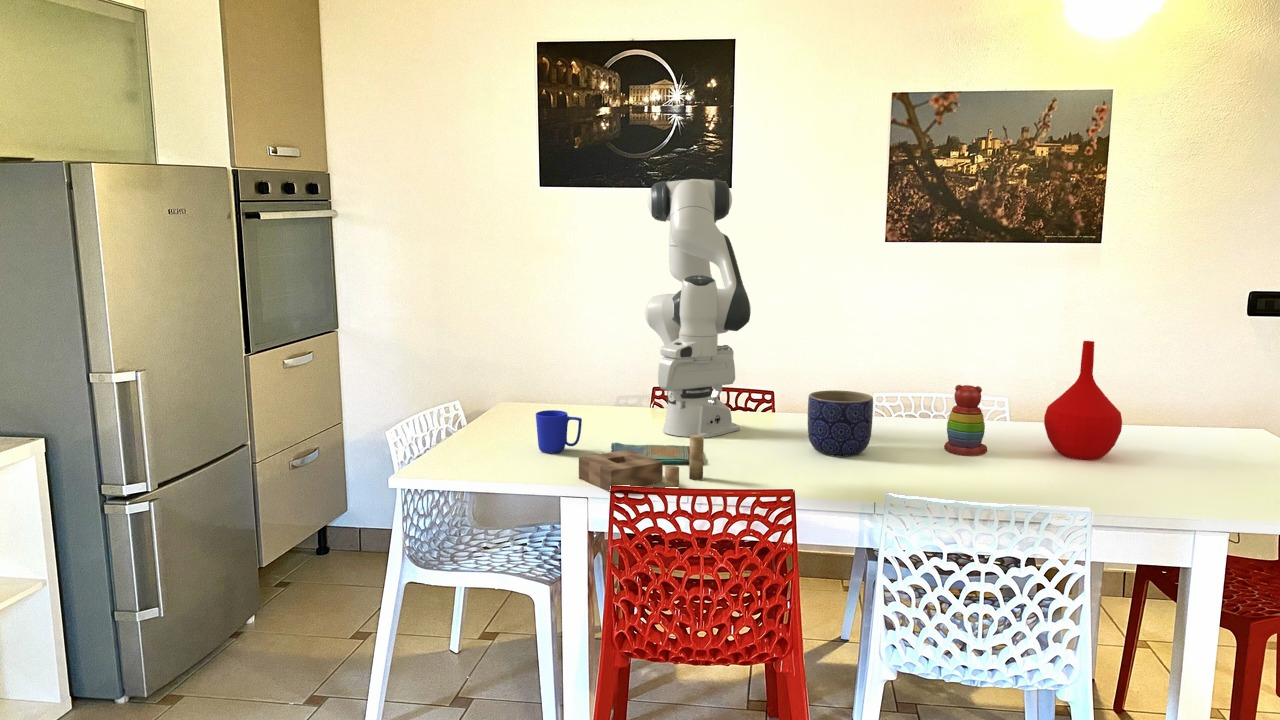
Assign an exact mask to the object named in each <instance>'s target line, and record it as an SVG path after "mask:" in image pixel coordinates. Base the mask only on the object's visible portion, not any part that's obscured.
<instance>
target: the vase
mask: <svg viewBox="0 0 1280 720" xmlns="http://www.w3.org/2000/svg"><path fill="white" fill-rule="evenodd" d="M1094 359H1095V341H1093V340H1083V341H1082V349H1081V359H1080V368H1079V369H1080V371H1079V375H1078V378H1077V379H1076V381H1075V382H1074V383H1073V384H1072V385H1071V386H1070V387H1068V388H1067V390H1065V391H1064V392H1063V393H1062V394H1061V395H1060V396H1059V397H1057V398H1056V399H1055V400H1053V401H1052V402H1051V403H1050V404H1048V405H1047V407H1046V411H1045V414H1044V416H1043V417H1044V418H1043V419H1044V420H1043V423H1044V429H1045V432H1046V436H1047V439H1048V441H1049V442H1050V445H1052V447H1053V448H1054V450H1055V451H1056V452H1057V453H1058V454H1059V455H1060V456H1063V457H1065V458H1069V459H1072V460H1073V459H1074V460H1081V461H1093V460H1100V459H1102V458H1103V457H1105V456H1106V455H1107V454H1109V453H1110V451H1111V450H1112V449H1113V448H1114V447H1115V446H1116V443H1117V441H1118V439H1119V437H1120V435H1121V433H1122V430H1123V419H1122V413H1121V411H1120V410H1119V409H1118V408H1117V407H1116V406H1115V405H1114V404H1113V403H1112V401H1111V400H1110V399H1109V398H1108V397H1107V396H1106V395H1105V393H1104V392H1103V390H1102V389H1101V388H1100V387H1099V385H1098V384H1097V383H1096V380H1095V379H1094V363H1095V362H1094V361H1095V360H1094Z"/></svg>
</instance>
